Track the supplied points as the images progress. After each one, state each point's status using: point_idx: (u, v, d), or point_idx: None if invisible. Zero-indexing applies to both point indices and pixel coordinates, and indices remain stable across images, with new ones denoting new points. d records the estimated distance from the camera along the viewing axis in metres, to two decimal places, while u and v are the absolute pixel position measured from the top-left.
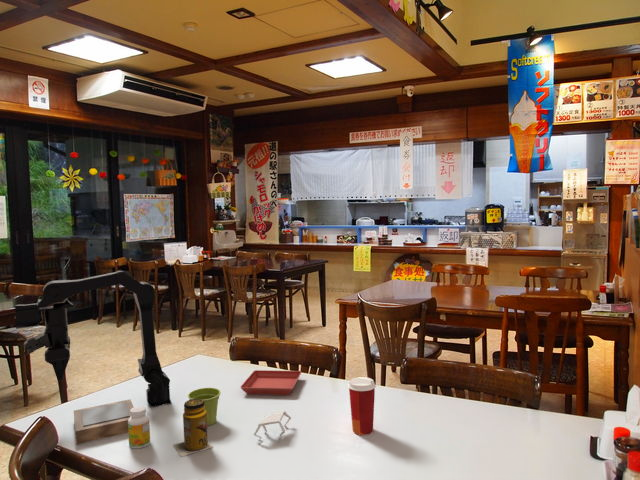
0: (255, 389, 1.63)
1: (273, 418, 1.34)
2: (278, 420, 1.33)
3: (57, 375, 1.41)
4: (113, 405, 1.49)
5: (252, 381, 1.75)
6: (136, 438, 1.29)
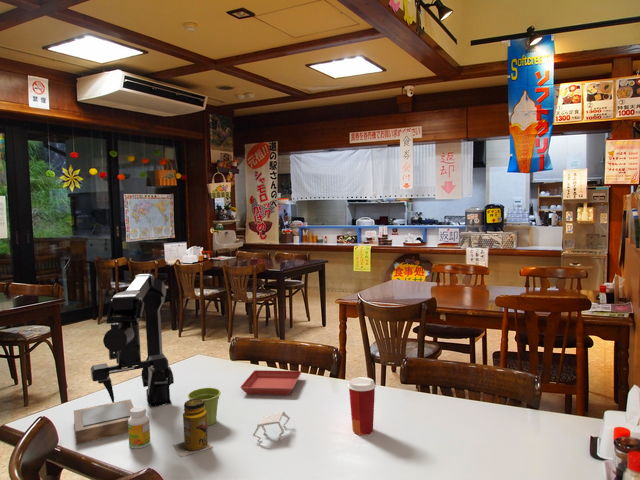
0: (255, 389, 1.63)
1: (272, 418, 1.34)
2: (277, 420, 1.33)
3: None
4: (113, 405, 1.49)
5: (252, 381, 1.75)
6: (136, 438, 1.29)
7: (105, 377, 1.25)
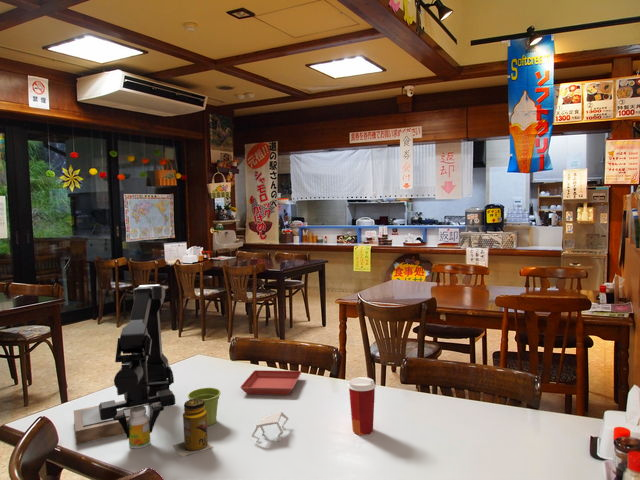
0: (255, 389, 1.63)
1: (271, 419, 1.34)
2: (276, 421, 1.33)
3: None
4: None
5: (252, 381, 1.75)
6: (136, 438, 1.29)
7: (113, 416, 1.26)
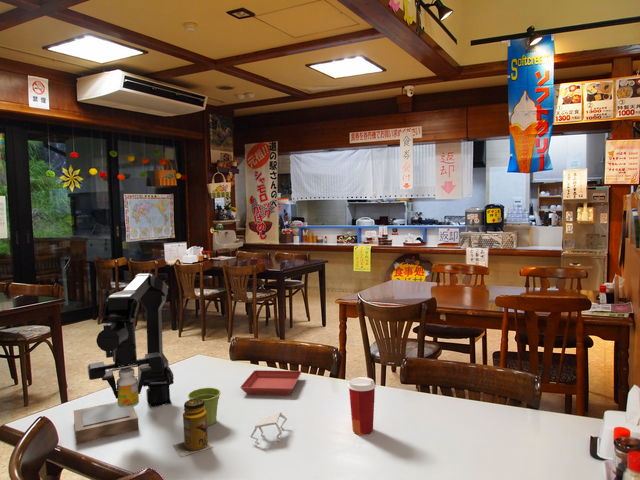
0: (255, 389, 1.63)
1: (269, 419, 1.33)
2: (275, 421, 1.32)
3: None
4: (113, 405, 1.49)
5: (252, 381, 1.75)
6: (125, 398, 1.32)
7: (101, 376, 1.28)
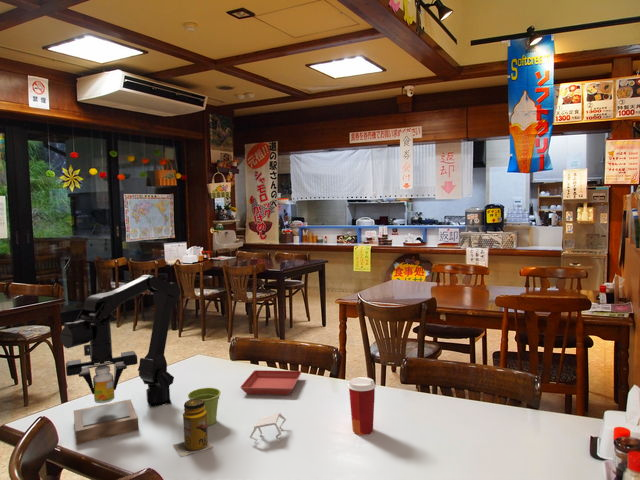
0: (255, 389, 1.63)
1: (269, 420, 1.33)
2: (274, 422, 1.32)
3: None
4: (113, 405, 1.49)
5: (252, 381, 1.75)
6: (100, 394, 1.40)
7: (78, 372, 1.37)
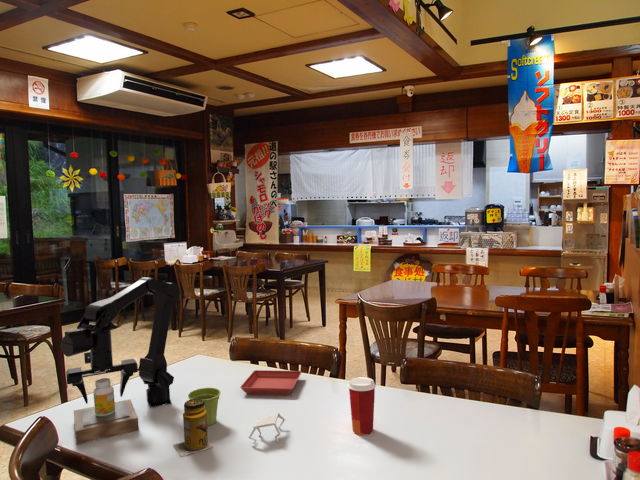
0: (255, 389, 1.63)
1: (268, 420, 1.33)
2: (273, 422, 1.32)
3: None
4: None
5: (252, 381, 1.75)
6: (101, 407, 1.40)
7: (78, 380, 1.37)
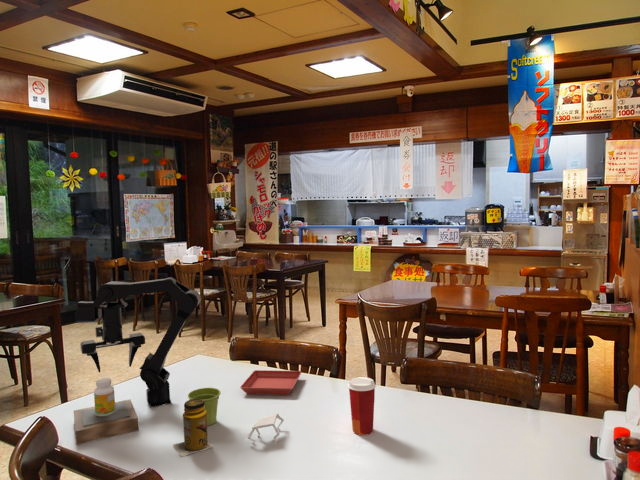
0: (255, 389, 1.63)
1: (267, 421, 1.33)
2: (272, 423, 1.31)
3: (96, 366, 1.56)
4: None
5: (252, 381, 1.75)
6: (101, 407, 1.40)
7: (92, 350, 1.52)
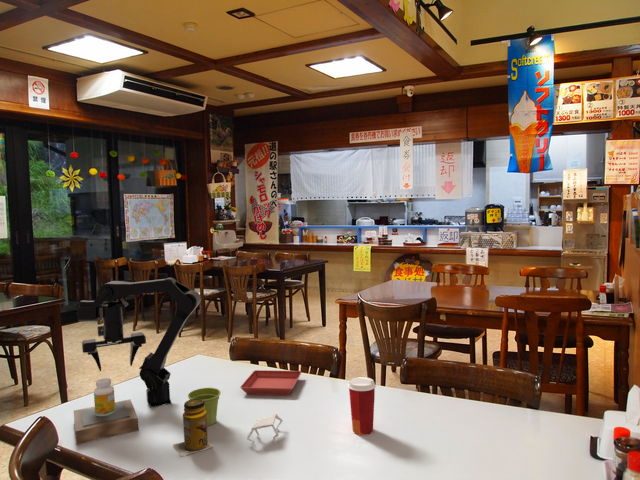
0: (255, 389, 1.63)
1: (266, 421, 1.32)
2: (271, 423, 1.31)
3: None
4: None
5: (252, 381, 1.75)
6: (101, 407, 1.40)
7: (93, 349, 1.53)
